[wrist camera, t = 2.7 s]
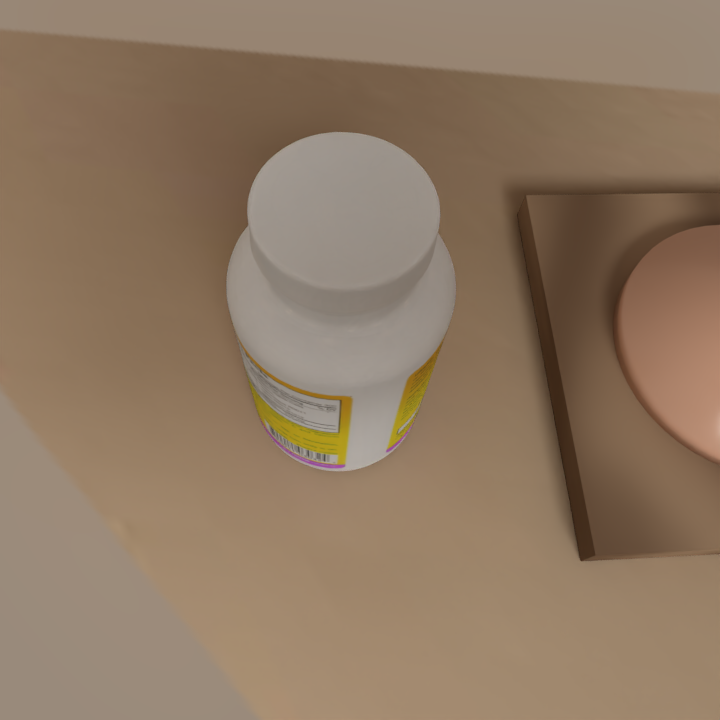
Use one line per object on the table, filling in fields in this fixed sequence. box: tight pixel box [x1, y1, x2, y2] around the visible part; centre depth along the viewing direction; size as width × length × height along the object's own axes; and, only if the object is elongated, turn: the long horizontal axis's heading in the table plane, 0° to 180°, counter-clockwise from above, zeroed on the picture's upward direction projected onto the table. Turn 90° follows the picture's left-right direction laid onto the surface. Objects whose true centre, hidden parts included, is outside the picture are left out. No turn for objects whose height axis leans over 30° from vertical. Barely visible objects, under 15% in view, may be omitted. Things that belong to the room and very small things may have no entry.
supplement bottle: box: [226, 132, 456, 471], centre depth 22 cm, size 7×7×13 cm
